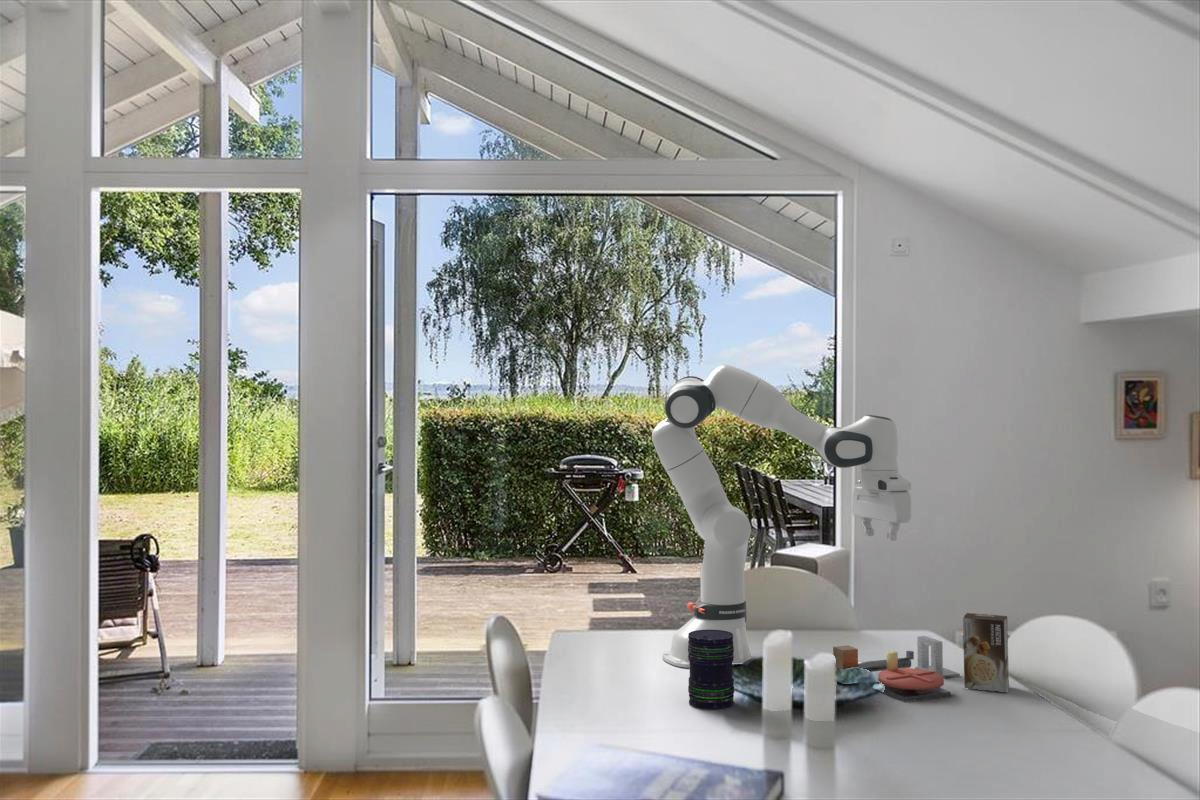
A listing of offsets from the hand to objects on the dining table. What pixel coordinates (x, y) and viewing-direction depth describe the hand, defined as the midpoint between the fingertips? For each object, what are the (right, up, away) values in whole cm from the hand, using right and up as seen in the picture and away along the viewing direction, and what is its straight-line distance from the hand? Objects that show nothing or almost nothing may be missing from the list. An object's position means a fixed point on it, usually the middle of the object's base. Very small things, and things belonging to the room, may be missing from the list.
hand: (880, 538), depth 266 cm
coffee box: (+18, -31, -21) cm, 42 cm away
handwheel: (0, -30, -24) cm, 38 cm away
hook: (-4, -31, -13) cm, 34 cm away
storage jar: (-45, -32, -32) cm, 63 cm away
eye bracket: (+12, -31, -8) cm, 34 cm away
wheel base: (0, -31, -24) cm, 40 cm away
